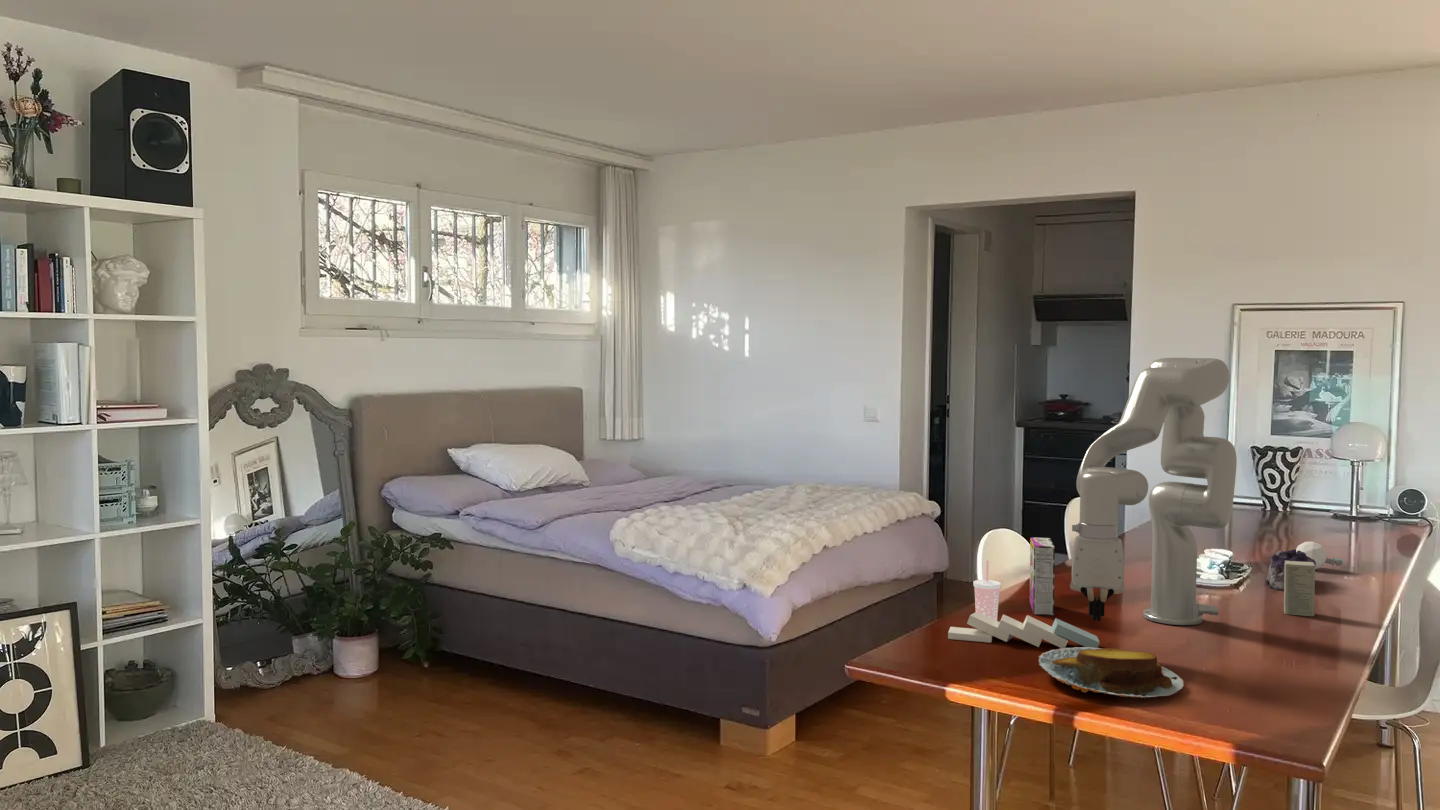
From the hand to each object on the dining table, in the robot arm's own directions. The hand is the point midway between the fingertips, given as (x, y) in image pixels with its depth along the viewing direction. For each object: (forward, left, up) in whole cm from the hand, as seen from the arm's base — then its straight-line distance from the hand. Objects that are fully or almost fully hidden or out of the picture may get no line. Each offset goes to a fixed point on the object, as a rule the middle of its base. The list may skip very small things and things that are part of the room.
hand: (1096, 619), depth 220 cm
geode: (-53, -78, -6) cm, 94 cm away
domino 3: (+11, 0, -5) cm, 12 cm away
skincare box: (-47, -44, -6) cm, 65 cm away
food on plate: (-1, +22, -7) cm, 23 cm away
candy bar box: (+11, -30, -6) cm, 33 cm away
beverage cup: (+23, -15, -6) cm, 28 cm away
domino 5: (0, 0, -5) cm, 5 cm away
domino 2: (+17, 0, -5) cm, 18 cm away
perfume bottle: (-64, -100, -6) cm, 119 cm away
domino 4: (+6, +1, -5) cm, 8 cm away
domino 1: (+21, 0, -6) cm, 22 cm away
